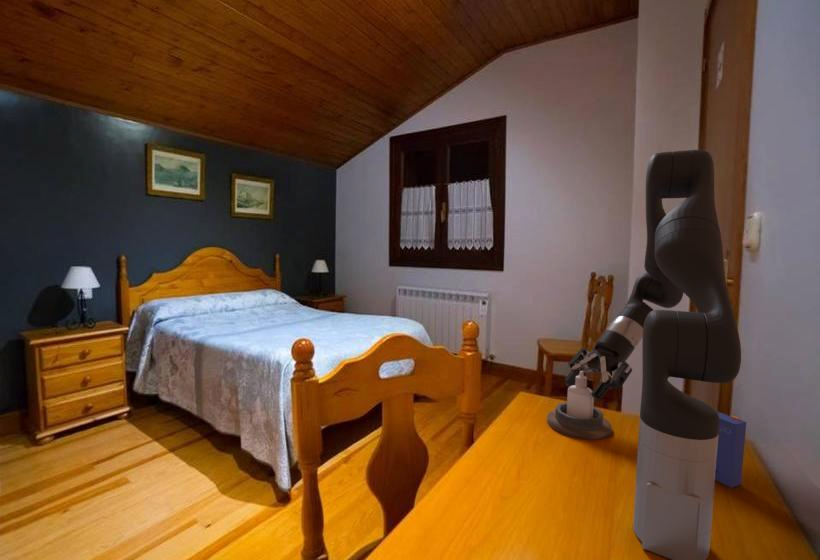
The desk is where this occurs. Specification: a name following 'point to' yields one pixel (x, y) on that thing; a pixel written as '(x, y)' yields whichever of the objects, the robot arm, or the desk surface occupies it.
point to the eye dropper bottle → (580, 399)
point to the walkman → (730, 450)
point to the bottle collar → (579, 424)
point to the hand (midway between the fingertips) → (580, 391)
